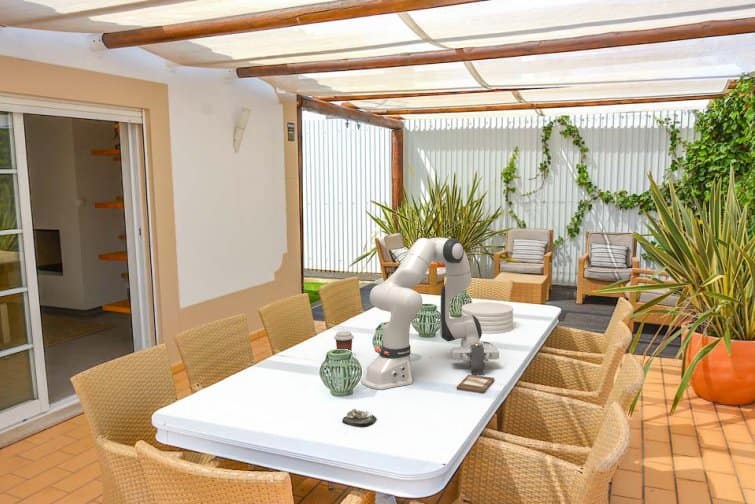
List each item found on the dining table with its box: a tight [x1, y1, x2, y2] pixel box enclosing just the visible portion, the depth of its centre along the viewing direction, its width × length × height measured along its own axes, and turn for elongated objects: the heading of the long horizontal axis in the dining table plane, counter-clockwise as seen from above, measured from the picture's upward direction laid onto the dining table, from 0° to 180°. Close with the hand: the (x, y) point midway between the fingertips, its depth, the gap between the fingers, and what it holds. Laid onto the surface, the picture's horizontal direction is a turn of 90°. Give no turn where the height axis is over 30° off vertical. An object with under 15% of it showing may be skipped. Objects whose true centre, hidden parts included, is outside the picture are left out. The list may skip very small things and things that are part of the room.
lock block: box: [469, 343, 485, 376], centre depth 252 cm, size 5×5×13 cm
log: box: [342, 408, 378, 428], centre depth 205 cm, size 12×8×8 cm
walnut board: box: [456, 373, 495, 394], centre depth 239 cm, size 16×11×1 cm
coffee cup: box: [333, 330, 355, 351], centre depth 277 cm, size 9×9×12 cm
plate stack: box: [461, 301, 514, 335], centre depth 329 cm, size 28×28×12 cm
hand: (477, 359), depth 251 cm, fingers open, 6 cm apart
